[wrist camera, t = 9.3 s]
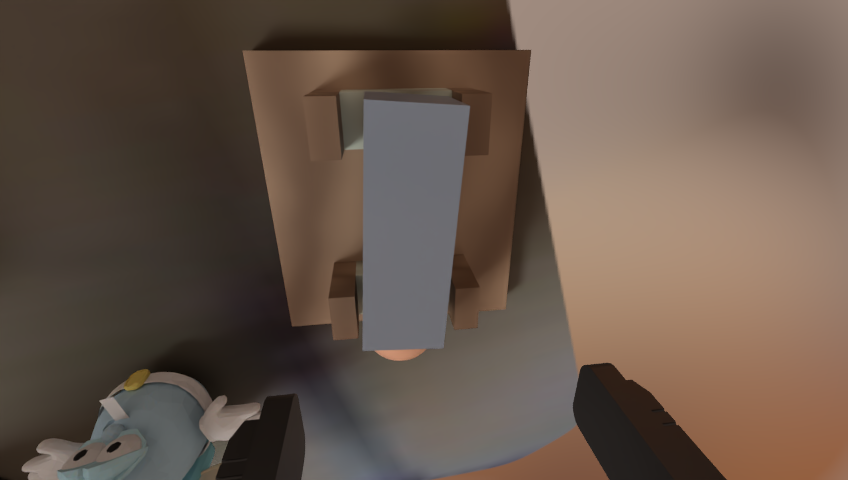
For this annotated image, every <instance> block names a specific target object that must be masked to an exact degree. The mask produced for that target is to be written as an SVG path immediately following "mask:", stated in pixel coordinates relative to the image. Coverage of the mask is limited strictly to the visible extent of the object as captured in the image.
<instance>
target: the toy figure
mask: <svg viewBox="0 0 848 480" xmlns="http://www.w3.org/2000/svg"><path fill="white" fill-rule="evenodd" d="M122 389H124V390H122ZM119 390H122V391H121V392H119V393H118V394H117V395H115V396H114V397H111V396H112V395H113V394H115V393H116V392H118V391H119ZM110 397H111V398H110ZM99 401H100V403H101V404H102V405H101V407H100V409H99V414H98V420H97V422H96V424H95V427H94V430H93V433H92V436H91V439H90V440H89V441H86V442H85V443H75V442H71V441H67V440H63V439H57V438H50V439H46V440H43V441H42V442H41V443H40V444H39V445H38V447H37V448H36V450H37V452H38V453H43V455H40V456H37V457H34V458H32V459H31V460H29V461H27V462H26V463H25V464H24V465H23V466H22V471H23V472H30V474H29V475H28V479H29V480H215V478H216V475H217V472H218V469H219V467H220V464H222V463H219V464H217V465H215V466H212V467H210V464H211V462H212V459H213V457H214V453H215V448H214V446H213V444H212V443H211V442H215V441H217V440H224V441H227V440H229V439H230V438H231V437H232V435H233V434H234V433H235V432H236V431H237V429H238V428H239V427H240V426H241V424H242V423H243V422H244V421H246V420H255V419H259V418H260V415H261V411H259V410H260V404H259V403H255V402H254V403H248V404H239V405H227V406H224V405H225V404H226V403H227V397H226V396H225V395H223V396H218V397H217V398H216V399H215V400H214V401H213V402H212V399H211V398H210V396H209V393H208V392H207V390H206V389H205V387H204V386H203V385H202V384H201V383H200V382H199V381H197V380H195V379H193V378H191V377H188V376H186V375H182V374H179V373H175V372H157V373H151V374H150V371H149V370H148V369H143V370H140V371H137V372H135V373H133V374H132V375H131V376H130V377H129V378H128V380H127V381H125V382H124V383H122V384H120V385H119V386H118V387H117V388H115V389H114V390H113V391H112V392H111V393H110V394H109V396H108V397H107V398H106V399H103V400H99ZM209 467H210V468H209Z"/></svg>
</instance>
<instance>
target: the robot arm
mask: <svg viewBox="0 0 848 480" xmlns="http://www.w3.org/2000/svg"><path fill="white" fill-rule="evenodd" d="M573 412H574V417H575V420H576V423H577V425H578V427H579V429H580V431H581V432H582V434H583V436H584V437H585V439H586V441H587V443H588V444H589V446H590V448H591V449H592V451H593V453H594V454H595V456H596V458H597V459H598V461H599V463H600V465H601V466H602V468H603V470H604V471H605V473H606V474H607V476H608V478H609V479H610V480H726V478H725V477H724V476H723V475H722V474H721V473H720V472H719V471H718V470H717V468H716V467H715V466H714V465H713V464H712V463H711V462H710V461H709V459H708V458H707V457H706V456H705V455H704V454H703V453H702V451H701V450H700V449H699V448H698V447H697V446H696V444H695V443H694V442H693V441H692V440H691V439H690V438H689V436H688V435H687V434H686V433H685V432H684V431H683V430H682V428H681V427H680V426H679V425H676V422H675V420H674V419H673V418H672V417H671V416H670V415H669V414H668V412H665V411H664V408H663V407H662V406H661V404H660V403H659V402H658V401H657V400H656V399H655V397H654V396H653V395H652V394H651V393H650V392H649V391H647V390H646V389H644V388H643V387H641V386H640V385H638V384H637V383H636V382H634V381H633V380H625V378H624V377H623V376H622V375H621V374H620V372H619V371H618V370H617V369H616V368H615V366H614V365H612V364H611V363H602V364H591V365H584V366H582V367H581V369H580V373H579V378H578V383H577V388H576V393H575V397H574V402H573ZM304 457H305V434H304V428H303V422H302V416H301V411H300V405H299V399H298V396H297V394H288V395H278V396H269V397H267V398H266V399H265V402H264V405H263V408H262V411H261V415H260V418H259V419H255V420H246V421H244V422H243V423H242V424H241V426H240V427H239V428H238V429H237V431H236V432H235V433H234V434H233V435H232V437H231V438H230V439H229V442H228V445H227V447H226V450H225V453H224V456H223V458H222V464H220V467H219V469H218V472H217V475H216V478H215V480H301V477H302V471H303V464H304Z"/></svg>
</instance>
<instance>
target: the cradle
mask: <svg viewBox="0 0 848 480" xmlns="http://www.w3.org/2000/svg"><path fill="white" fill-rule="evenodd" d="M243 55H244V61H245V67H246V72H247V78H248V83H249V89H250V95H251V100H252V106H253V111H254V117H255V122H256V128H257V134H258V139H259V145H260V150H261V156H262V162H263V167H264V173H265V178H266V184H267V190H268V195H269V201H270V206H271V212H272V217H273V223H274V229H275V234H276V240H277V245H278V251H279V257H280V262H281V268H282V273H283V279H284V285H285V290H286V296H287V301H288V307H289V312H290V318H291V324H292V327H293V326H305V325H318V324H330V323H331V325H332V333H333V340H342V339H353V338H358V333H359V321H363V129H364V91H373V92H389V93H405V94H421V95H437V96H449V97H451V98H454V99H456V100H458V101H460V102H463V103H465V104H467V105H470V112H469V121H468V130H467V139H466V148H465V157H464V166H463V175H462V184H461V193H460V202H459V212H458V221H457V230H456V239H455V248H454V257H453V266H452V275H451V284H450V293H449V302H448V311H447V314H449V315H450V318H451V321H452V324H453V327H454V330H457V329H469V328H477V326H478V311H489V310H501V309H506V299H507V289H508V279H509V269H510V259H511V249H512V238H513V228H514V218H515V208H516V198H517V188H518V178H519V167H520V157H521V147H522V137H523V127H524V117H525V107H526V96H527V86H528V76H529V66H530V56H531V50H331V51H243Z"/></svg>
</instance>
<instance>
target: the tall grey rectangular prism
mask: <svg viewBox="0 0 848 480" xmlns="http://www.w3.org/2000/svg"><path fill="white" fill-rule="evenodd" d="M469 112H470V105H467V104H465V103H463V102H460V101H458V100H456V99H454V98H451V97H449V96H437V95H421V94H405V93H389V92H373V91H364V129H363V351H375V352H377V353H378V354H379V355H381V356H383V357H385V358H387V359H390V360H395V361H404V360H409V359H412V358H415V357H417V356H419V355H420V354H422V353H423V352H424V351H425V350H426V349H437V348H444V339H445V330H446V320H447V311H448V302H449V293H450V284H451V275H452V266H453V257H454V248H455V239H456V230H457V221H458V212H459V202H460V193H461V184H462V175H463V166H464V157H465V148H466V139H467V130H468V121H469Z"/></svg>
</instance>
